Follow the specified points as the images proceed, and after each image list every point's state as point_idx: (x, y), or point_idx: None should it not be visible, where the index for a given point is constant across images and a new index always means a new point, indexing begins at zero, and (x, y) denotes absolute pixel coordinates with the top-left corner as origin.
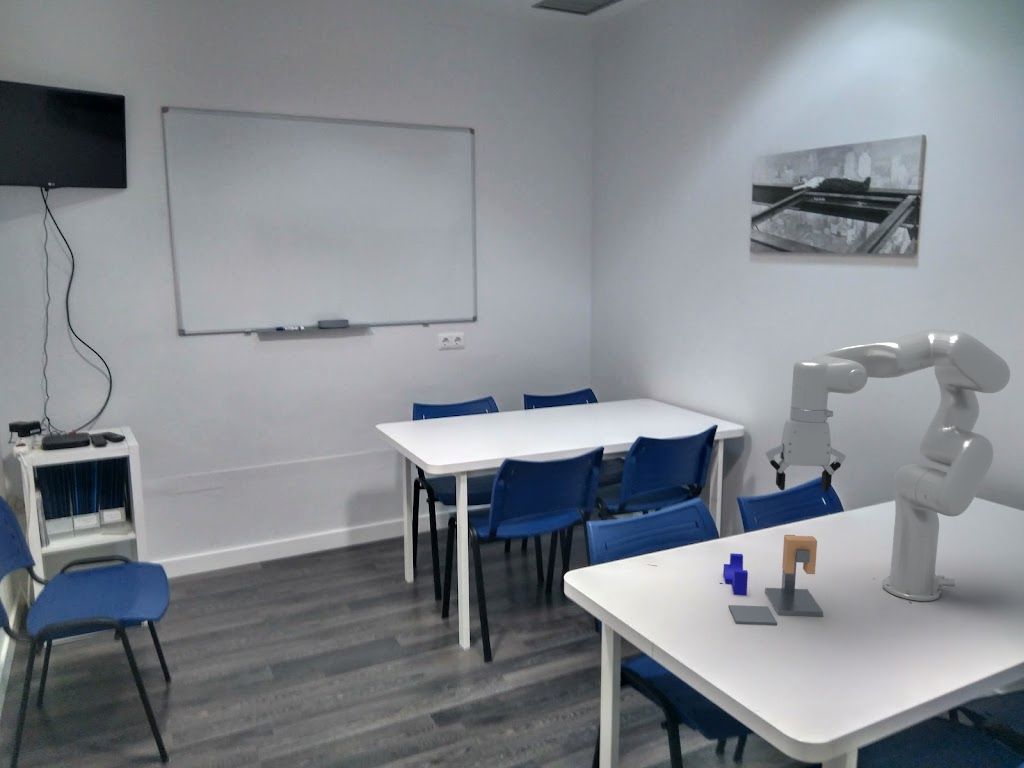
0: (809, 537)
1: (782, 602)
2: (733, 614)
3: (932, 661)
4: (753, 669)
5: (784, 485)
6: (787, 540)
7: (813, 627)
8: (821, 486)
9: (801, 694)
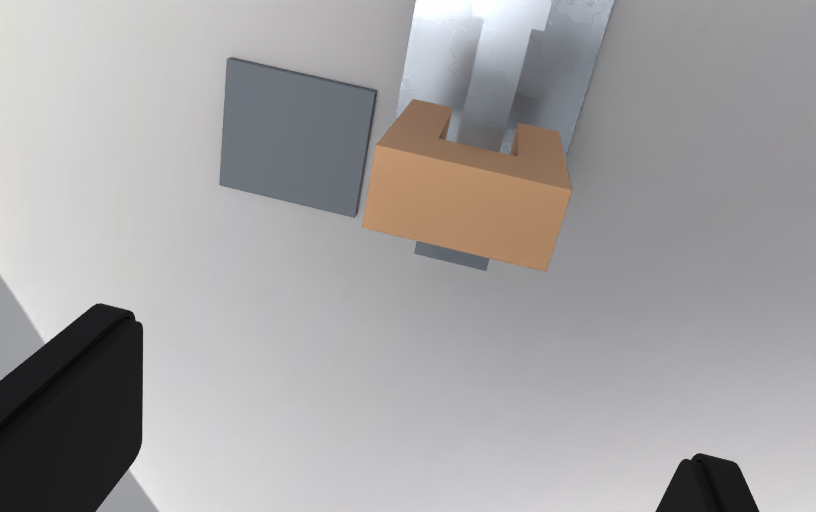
0: (532, 206)
1: (437, 88)
2: (224, 137)
3: None
4: (203, 408)
5: (104, 493)
6: (364, 218)
7: None
8: (685, 481)
9: (277, 506)
